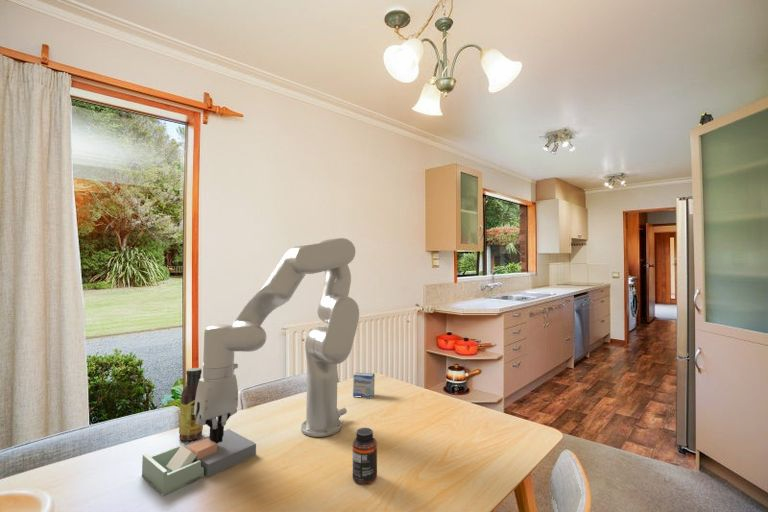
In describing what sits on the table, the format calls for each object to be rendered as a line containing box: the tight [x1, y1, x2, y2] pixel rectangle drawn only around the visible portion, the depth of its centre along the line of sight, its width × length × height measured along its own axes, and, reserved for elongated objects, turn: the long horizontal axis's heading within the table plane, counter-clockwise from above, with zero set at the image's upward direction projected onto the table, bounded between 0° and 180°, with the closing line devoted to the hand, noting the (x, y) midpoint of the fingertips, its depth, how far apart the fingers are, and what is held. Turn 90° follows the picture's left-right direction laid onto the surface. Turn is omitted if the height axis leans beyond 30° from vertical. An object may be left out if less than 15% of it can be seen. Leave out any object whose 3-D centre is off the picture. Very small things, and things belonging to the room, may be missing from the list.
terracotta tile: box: [188, 437, 217, 460], centre depth 91 cm, size 5×5×2 cm
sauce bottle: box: [178, 367, 204, 442], centre depth 106 cm, size 6×6×20 cm
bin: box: [141, 445, 205, 496], centre depth 86 cm, size 9×12×5 cm
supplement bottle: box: [352, 427, 378, 486], centre depth 86 cm, size 6×6×11 cm
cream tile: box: [166, 445, 197, 471], centre depth 87 cm, size 5×5×2 cm
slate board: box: [182, 428, 257, 478], centre depth 95 cm, size 13×14×3 cm
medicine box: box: [352, 371, 376, 398], centre depth 141 cm, size 8×4×9 cm, turn 81°
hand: (216, 441), depth 94 cm, fingers closed
